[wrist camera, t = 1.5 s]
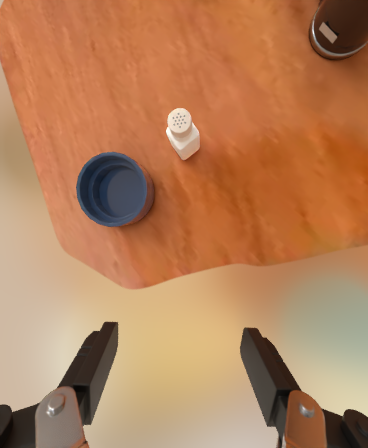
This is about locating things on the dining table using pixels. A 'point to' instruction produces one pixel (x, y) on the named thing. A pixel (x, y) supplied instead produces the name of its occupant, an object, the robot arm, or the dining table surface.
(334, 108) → the dining table surface
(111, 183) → the bowl
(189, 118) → the salt shaker
